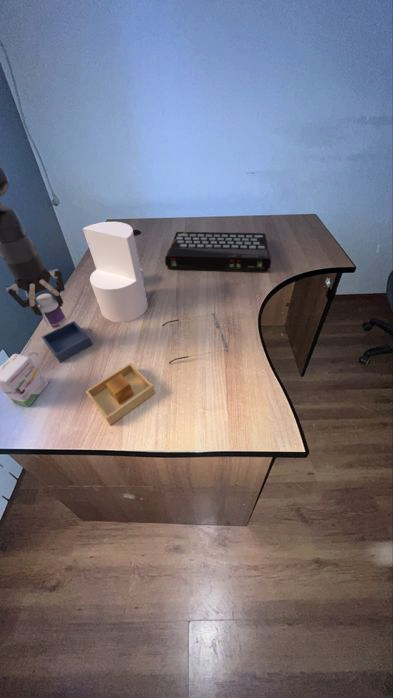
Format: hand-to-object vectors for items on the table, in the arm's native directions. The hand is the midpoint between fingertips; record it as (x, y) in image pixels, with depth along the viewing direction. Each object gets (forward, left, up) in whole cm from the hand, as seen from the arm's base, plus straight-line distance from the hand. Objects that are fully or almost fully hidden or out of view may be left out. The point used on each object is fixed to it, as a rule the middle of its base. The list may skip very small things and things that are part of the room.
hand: (50, 309), depth 77 cm
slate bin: (0, 0, -15) cm, 15 cm away
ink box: (-16, -11, -15) cm, 24 cm away
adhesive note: (+36, +15, -15) cm, 42 cm away
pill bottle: (0, 0, -6) cm, 6 cm away
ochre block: (+2, -29, -14) cm, 33 cm away
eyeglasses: (+31, -27, -15) cm, 44 cm away
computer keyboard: (+77, +6, -15) cm, 79 cm away
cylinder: (+24, +4, -15) cm, 29 cm away
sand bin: (+2, -29, -15) cm, 33 cm away
